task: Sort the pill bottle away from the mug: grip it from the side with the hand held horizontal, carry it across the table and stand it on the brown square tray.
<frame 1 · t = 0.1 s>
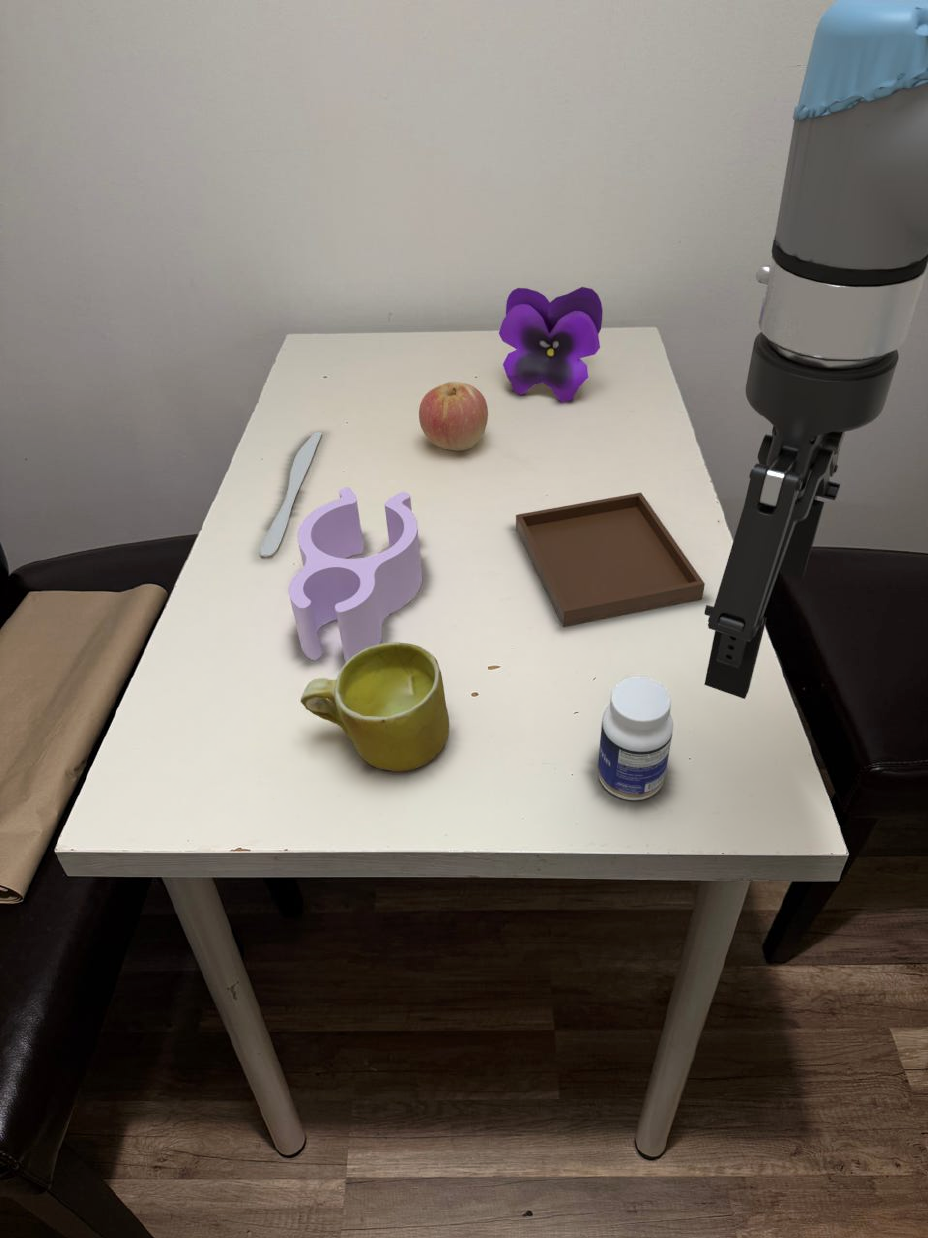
hand: (757, 626, 63), 19 cm above the table, tool pointing down, fingers open, 13 cm apart
pill bottle: (630, 777, 77), on the table
brown square tray: (604, 562, 98), on the table
apple: (455, 444, 118), on the table
butter knife: (292, 491, 111), on the table
clip: (358, 597, 95), on the table
mug: (381, 739, 81), on the table
flower: (554, 379, 130), on the table
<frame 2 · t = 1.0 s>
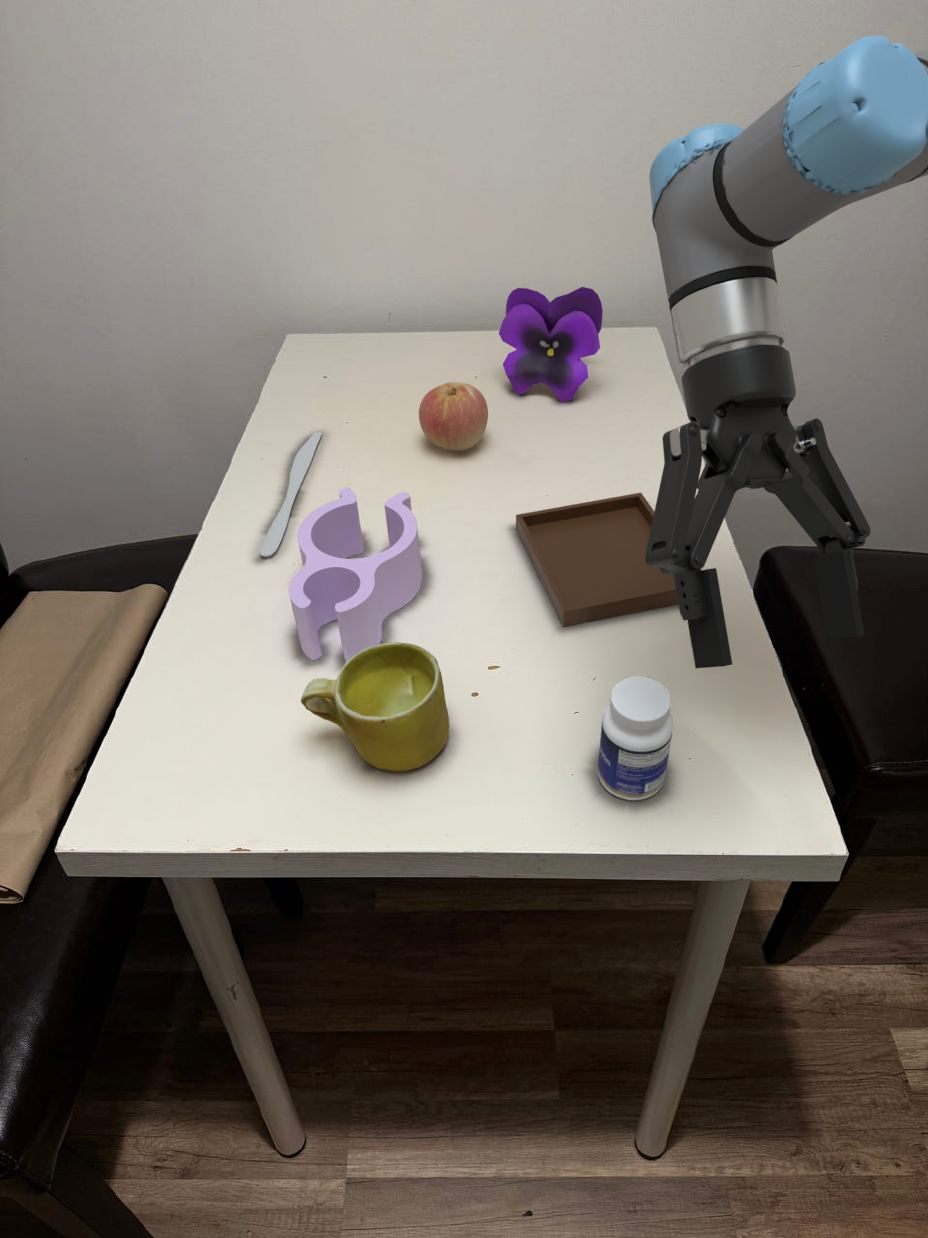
hand: (783, 652, 63), 17 cm above the table, tool tilted 45°, fingers open, 13 cm apart
nothing on the table moved.
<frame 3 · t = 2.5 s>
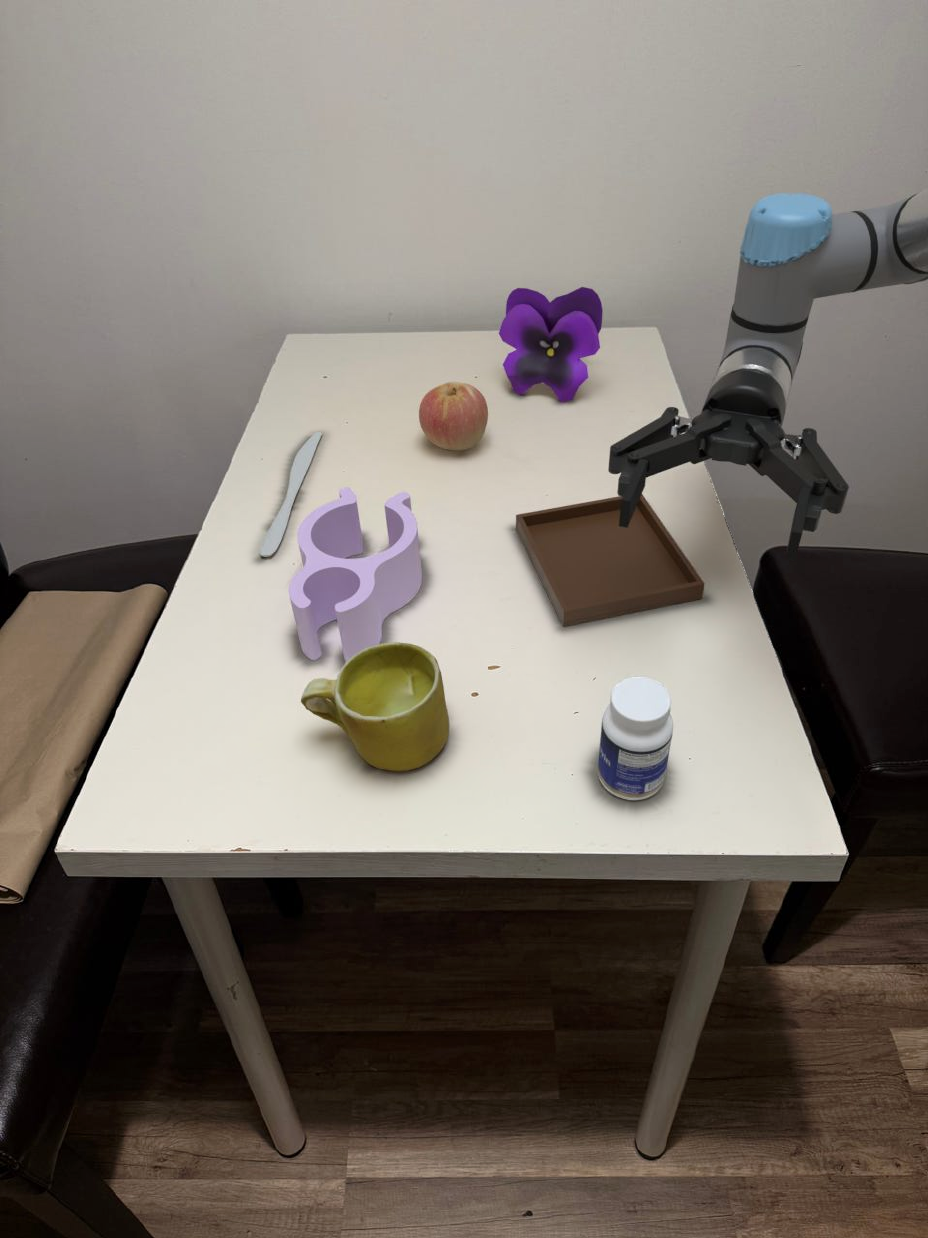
hand: (706, 529, 72), 18 cm above the table, tool horizontal, fingers open, 13 cm apart
nothing on the table moved.
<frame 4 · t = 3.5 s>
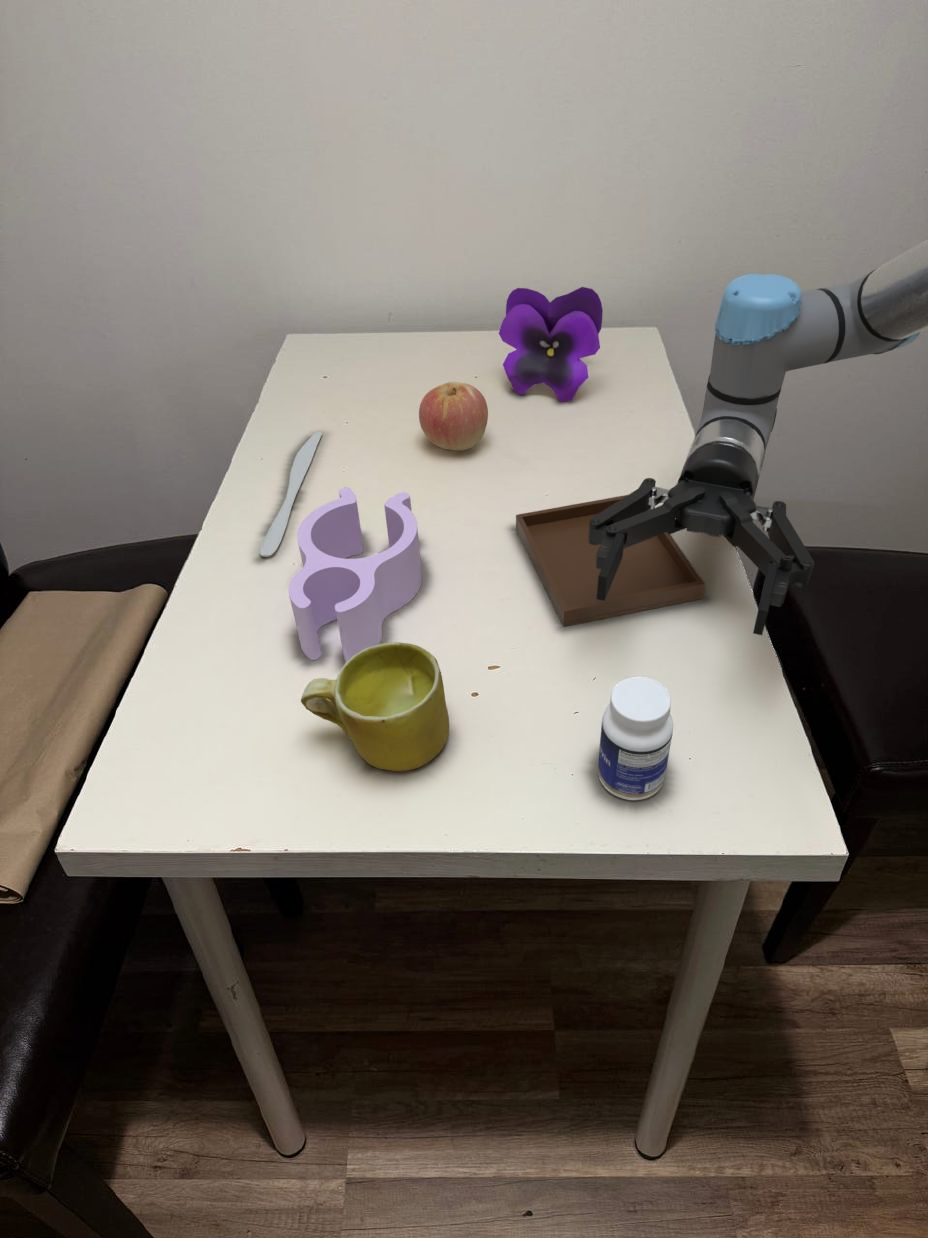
hand: (678, 605, 76), 11 cm above the table, tool horizontal, fingers open, 13 cm apart
nothing on the table moved.
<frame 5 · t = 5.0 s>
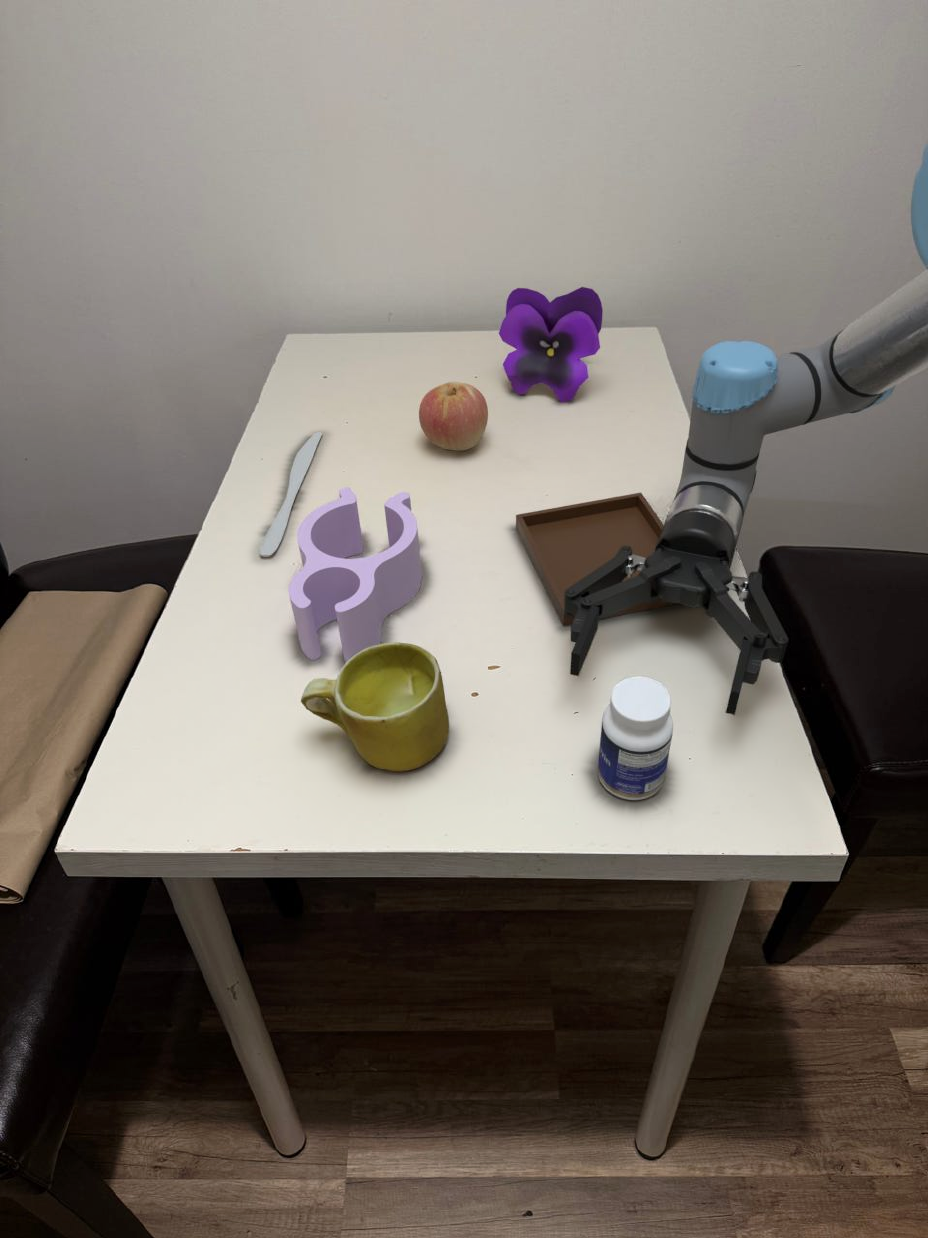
hand: (651, 683, 76), 6 cm above the table, tool horizontal, fingers open, 13 cm apart
nothing on the table moved.
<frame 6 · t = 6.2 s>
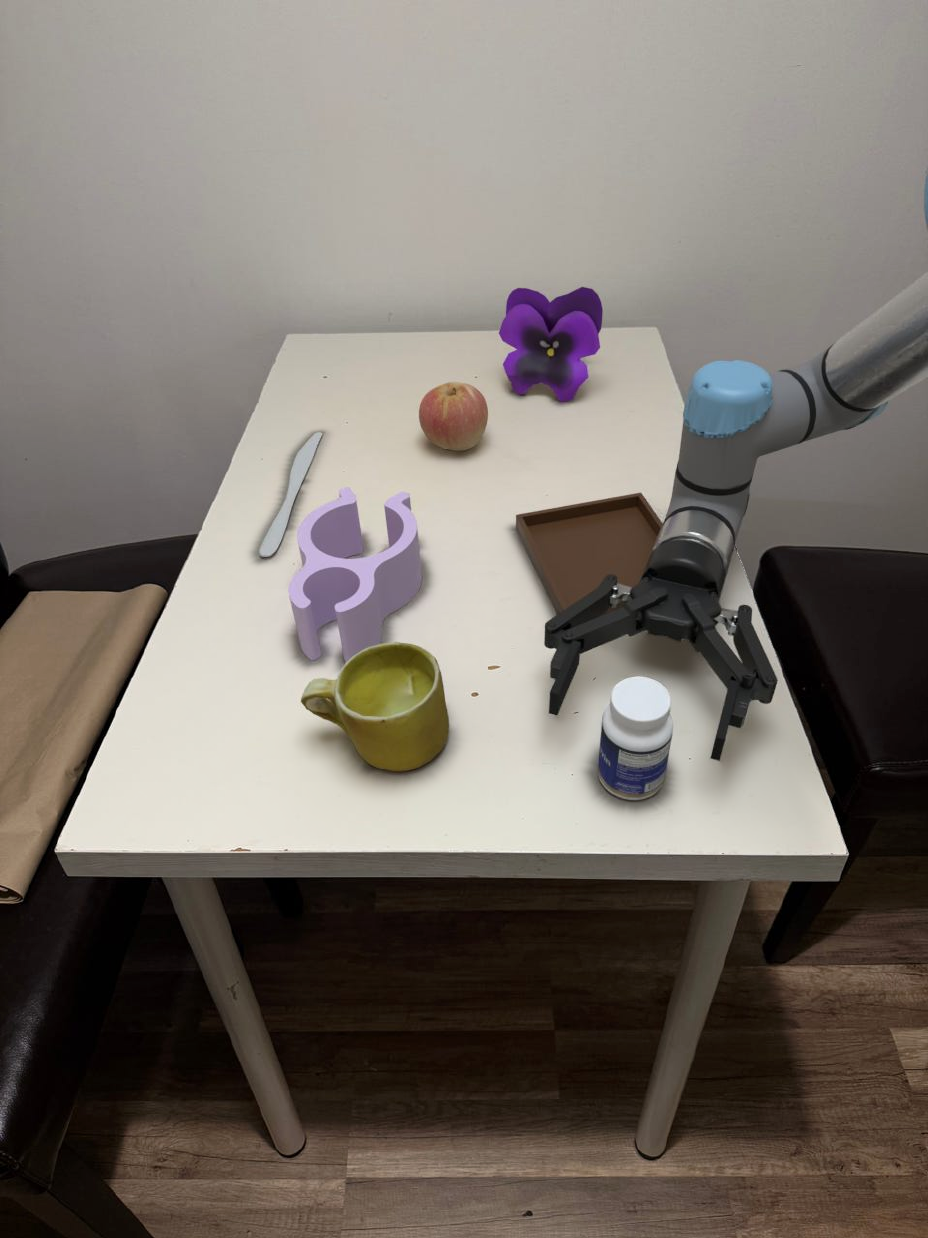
hand: (633, 726, 73), 6 cm above the table, tool horizontal, fingers open, 13 cm apart
nothing on the table moved.
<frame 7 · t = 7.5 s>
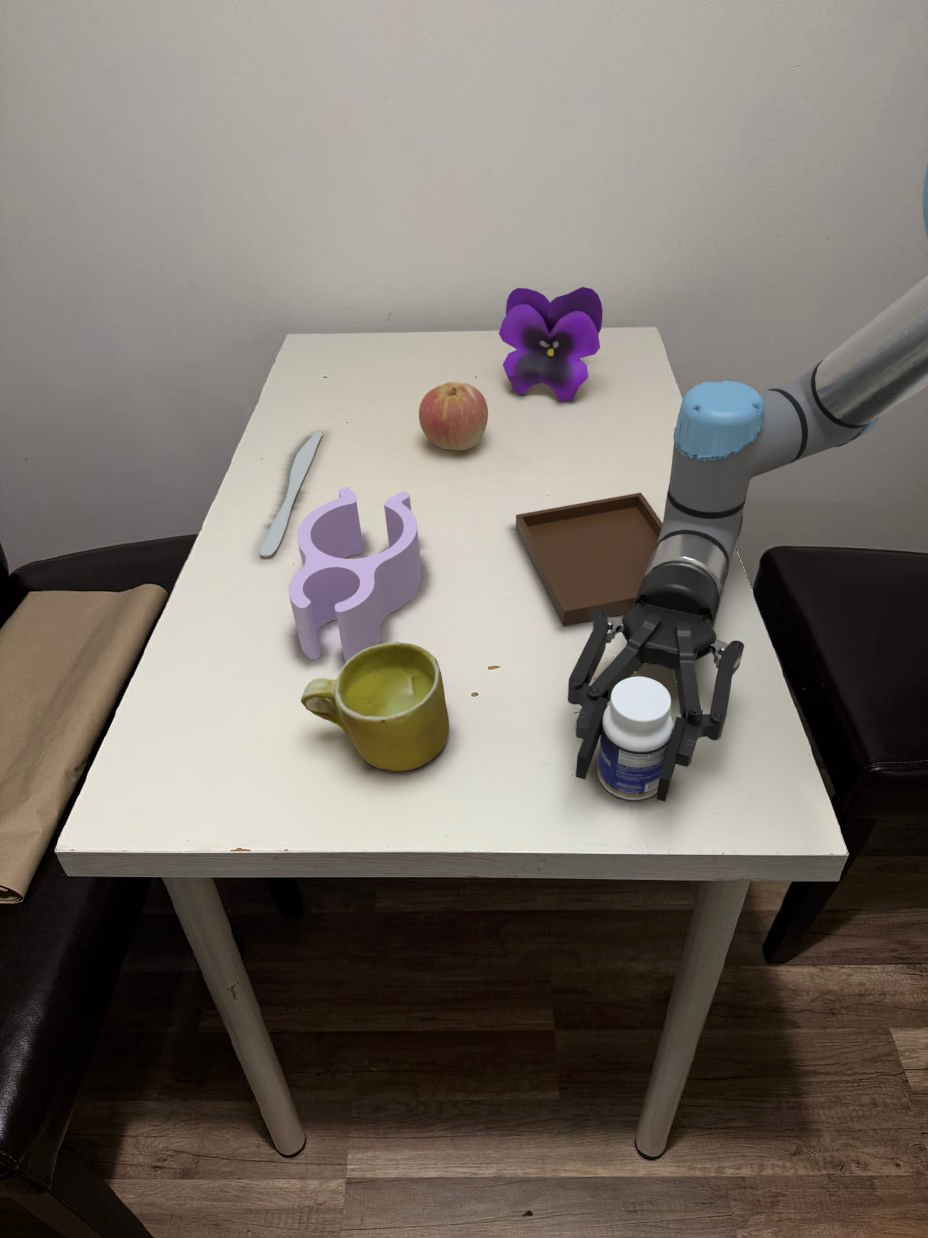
hand: (621, 778, 69), 6 cm above the table, tool horizontal, fingers closed on pill bottle, 6 cm apart
pill bottle: (630, 777, 77), on the table, touching gripper
everything else where it was.
when the fingers open (7 cm above the table, at t = 17.9 s): pill bottle stays where it is, resting on brown square tray.
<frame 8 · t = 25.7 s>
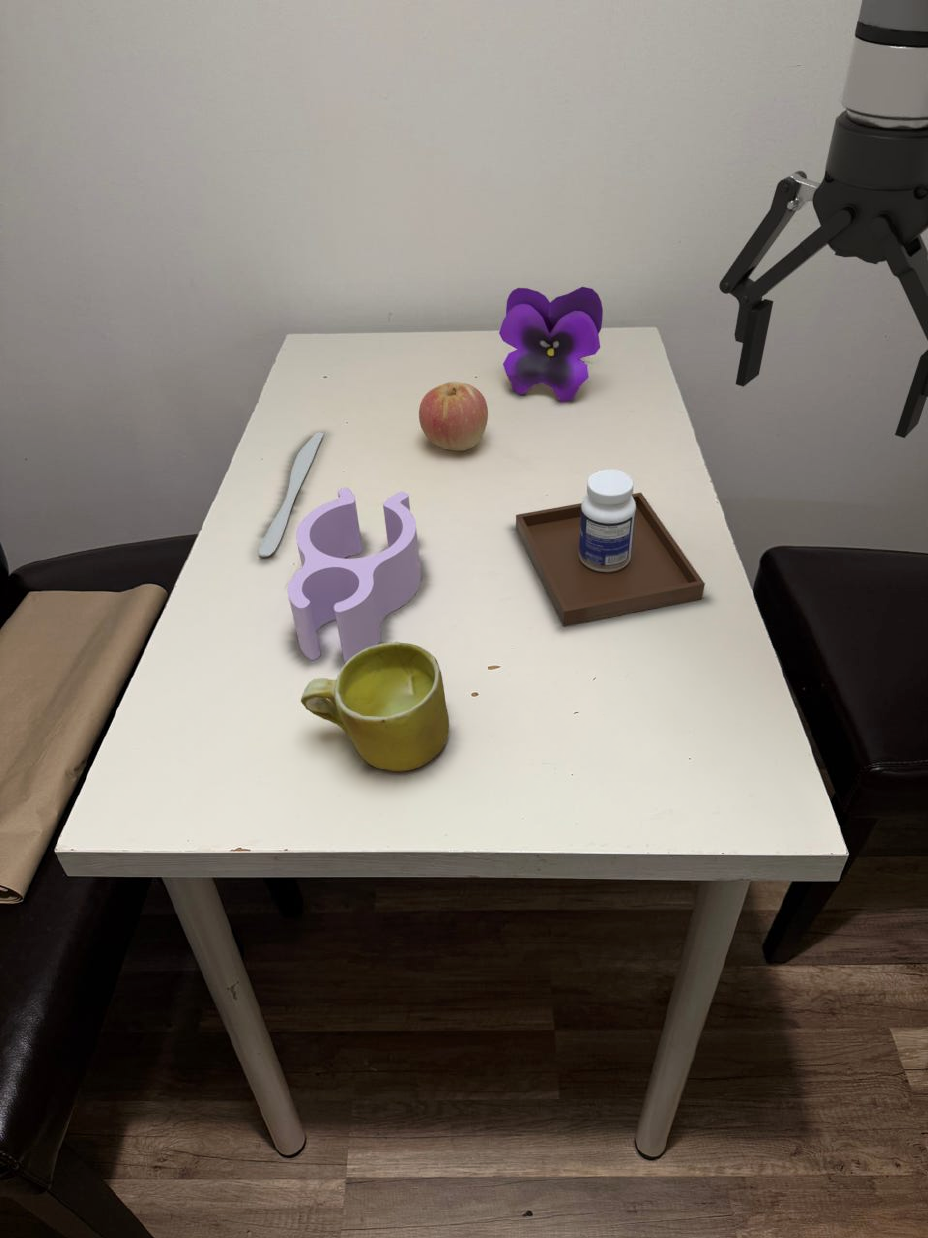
hand: (822, 403, 73), 25 cm above the table, tool pointing down, fingers open, 13 cm apart
pill bottle: (604, 559, 98), resting on brown square tray
everything else where it was.
at the end: pill bottle inside the target area in the brown square tray (0.0 cm from its centre), point 0.4 cm above the brown square tray's base; pill bottle tilted 0°; mug moved 0.2 cm from its start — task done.
